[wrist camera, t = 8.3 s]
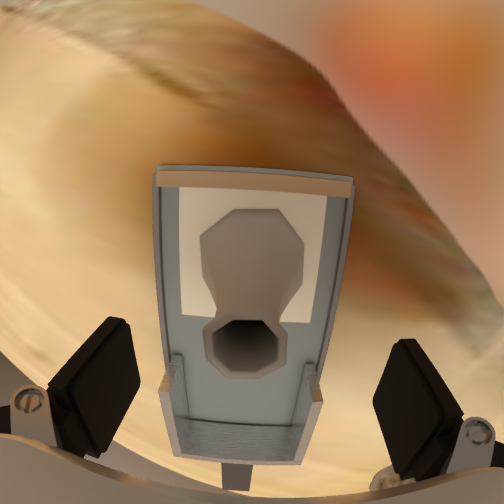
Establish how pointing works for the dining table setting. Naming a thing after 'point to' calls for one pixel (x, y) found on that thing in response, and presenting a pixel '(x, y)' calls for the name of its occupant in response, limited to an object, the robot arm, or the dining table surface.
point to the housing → (238, 430)
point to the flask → (250, 290)
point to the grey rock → (388, 479)
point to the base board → (200, 299)
